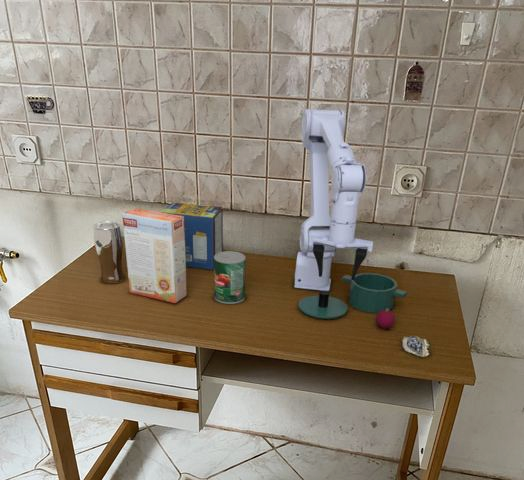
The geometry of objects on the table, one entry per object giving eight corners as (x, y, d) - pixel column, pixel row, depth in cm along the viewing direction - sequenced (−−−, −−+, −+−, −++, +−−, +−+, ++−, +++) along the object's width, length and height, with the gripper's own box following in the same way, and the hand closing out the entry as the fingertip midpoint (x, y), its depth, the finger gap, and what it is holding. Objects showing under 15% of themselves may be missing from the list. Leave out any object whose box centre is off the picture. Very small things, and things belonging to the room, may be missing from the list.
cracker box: (188, 296, 133) (185, 215, 122) (175, 304, 128) (171, 221, 118) (143, 284, 138) (136, 206, 127) (128, 293, 133) (120, 212, 122)
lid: (332, 325, 122) (334, 308, 120) (288, 311, 128) (290, 293, 126) (355, 308, 131) (357, 291, 128) (313, 295, 137) (315, 278, 134)
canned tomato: (250, 295, 135) (251, 255, 129) (235, 306, 129) (235, 265, 123) (224, 288, 138) (224, 249, 132) (208, 299, 132) (207, 258, 126)
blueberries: (423, 338, 119) (425, 330, 118) (439, 356, 112) (441, 348, 111) (395, 339, 118) (397, 332, 117) (409, 357, 111) (411, 350, 110)
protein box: (175, 252, 160) (172, 201, 152) (223, 257, 157) (223, 206, 149) (162, 264, 151) (159, 211, 143) (213, 270, 148) (213, 216, 141)
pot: (392, 320, 126) (396, 298, 123) (331, 301, 134) (334, 280, 131) (409, 304, 134) (414, 283, 131) (351, 287, 142) (354, 267, 139)
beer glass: (94, 281, 138) (86, 226, 131) (110, 272, 144) (103, 219, 136) (116, 286, 136) (109, 231, 129) (131, 277, 142) (126, 223, 134)
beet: (374, 330, 121) (377, 311, 118) (374, 322, 125) (377, 303, 122) (393, 332, 120) (397, 314, 118) (393, 324, 124) (396, 305, 122)
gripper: (309, 222, 114) (304, 280, 121) (376, 228, 112) (367, 286, 119) (312, 214, 120) (307, 269, 127) (375, 219, 118) (367, 275, 125)
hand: (336, 276), depth 123 cm, fingers open, 7 cm apart
